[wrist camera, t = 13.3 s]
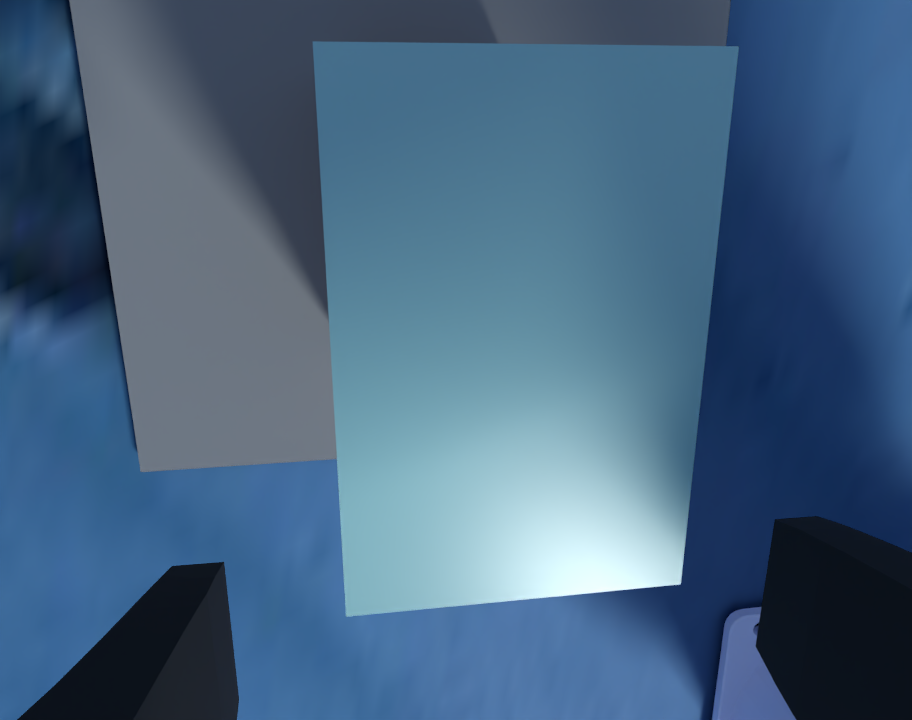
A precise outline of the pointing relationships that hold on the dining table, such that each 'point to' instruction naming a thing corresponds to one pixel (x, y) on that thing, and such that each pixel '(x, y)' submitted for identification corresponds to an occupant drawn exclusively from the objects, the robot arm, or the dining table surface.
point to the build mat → (260, 194)
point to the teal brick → (517, 310)
